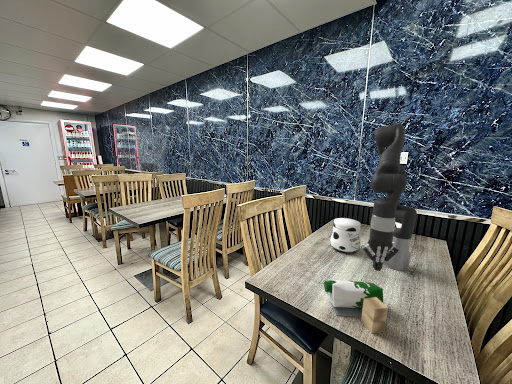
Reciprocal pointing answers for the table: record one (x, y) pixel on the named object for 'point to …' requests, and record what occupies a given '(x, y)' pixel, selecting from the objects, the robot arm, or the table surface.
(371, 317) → the oak block
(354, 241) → the milk container
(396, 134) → the robot arm
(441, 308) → the table surface
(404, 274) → the table surface
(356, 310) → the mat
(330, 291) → the soya milk
